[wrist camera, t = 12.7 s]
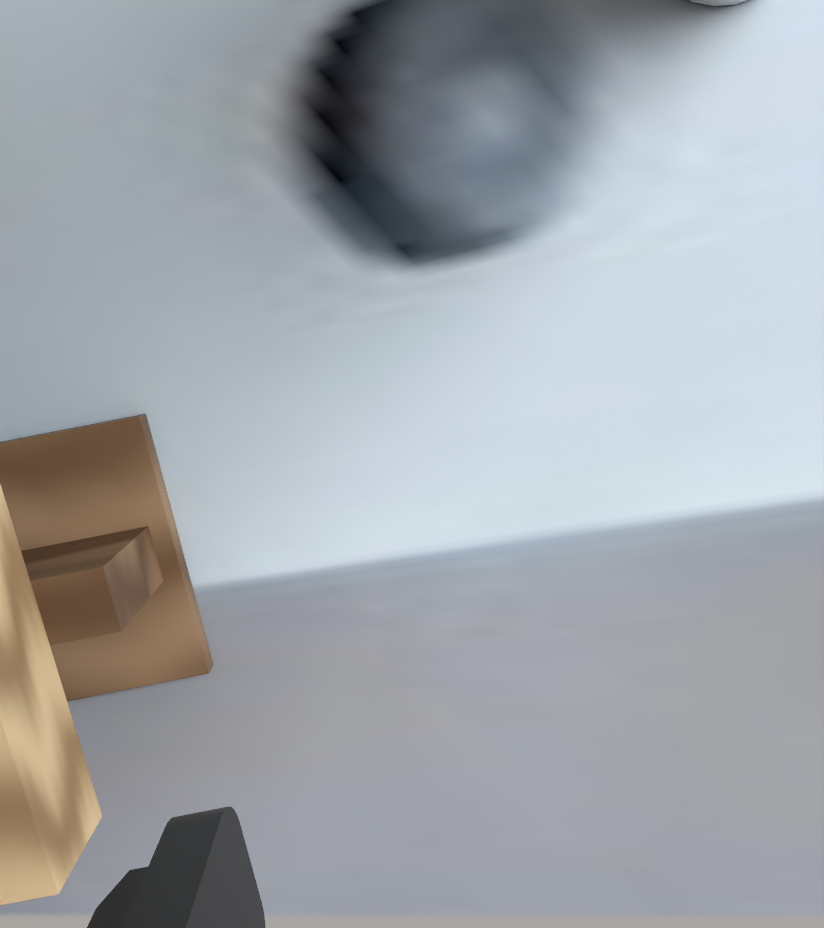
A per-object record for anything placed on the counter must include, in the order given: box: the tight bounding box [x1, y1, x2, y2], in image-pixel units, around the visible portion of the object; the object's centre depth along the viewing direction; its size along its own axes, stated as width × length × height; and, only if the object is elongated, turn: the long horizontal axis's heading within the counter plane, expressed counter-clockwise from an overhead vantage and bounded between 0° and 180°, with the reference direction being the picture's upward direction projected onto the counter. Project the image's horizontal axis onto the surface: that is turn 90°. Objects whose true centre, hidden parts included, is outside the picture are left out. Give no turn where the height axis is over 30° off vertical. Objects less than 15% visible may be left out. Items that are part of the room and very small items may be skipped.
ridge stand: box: [0, 414, 213, 701], centre depth 34 cm, size 14×13×7 cm
